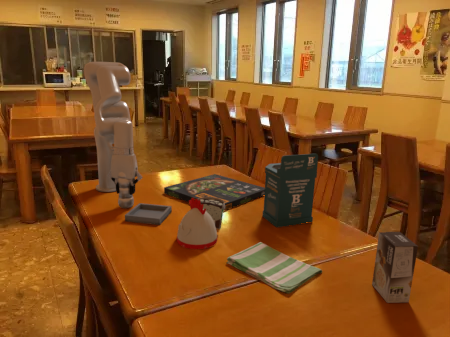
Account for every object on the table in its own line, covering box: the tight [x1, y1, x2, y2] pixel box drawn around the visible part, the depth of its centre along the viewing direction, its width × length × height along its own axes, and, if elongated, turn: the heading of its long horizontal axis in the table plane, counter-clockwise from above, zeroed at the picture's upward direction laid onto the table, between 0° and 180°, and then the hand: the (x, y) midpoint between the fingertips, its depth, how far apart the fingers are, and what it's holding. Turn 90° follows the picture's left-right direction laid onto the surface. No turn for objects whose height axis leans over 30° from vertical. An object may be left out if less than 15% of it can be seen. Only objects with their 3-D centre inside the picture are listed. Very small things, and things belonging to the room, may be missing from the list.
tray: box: [124, 202, 173, 226], centre depth 149 cm, size 14×14×2 cm
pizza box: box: [163, 173, 265, 212], centre depth 179 cm, size 35×35×4 cm
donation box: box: [261, 153, 319, 229], centre depth 149 cm, size 16×16×28 cm
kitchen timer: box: [176, 198, 218, 250], centre depth 128 cm, size 14×14×15 cm
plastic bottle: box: [117, 172, 135, 209], centre depth 156 cm, size 6×7×20 cm
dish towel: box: [226, 241, 323, 294], centre depth 113 cm, size 18×23×3 cm
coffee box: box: [371, 231, 419, 304], centre depth 100 cm, size 9×6×16 cm
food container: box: [198, 197, 225, 230], centre depth 143 cm, size 12×6×10 cm, turn 65°
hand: (125, 192), depth 157 cm, fingers closed on plastic bottle, 5 cm apart
